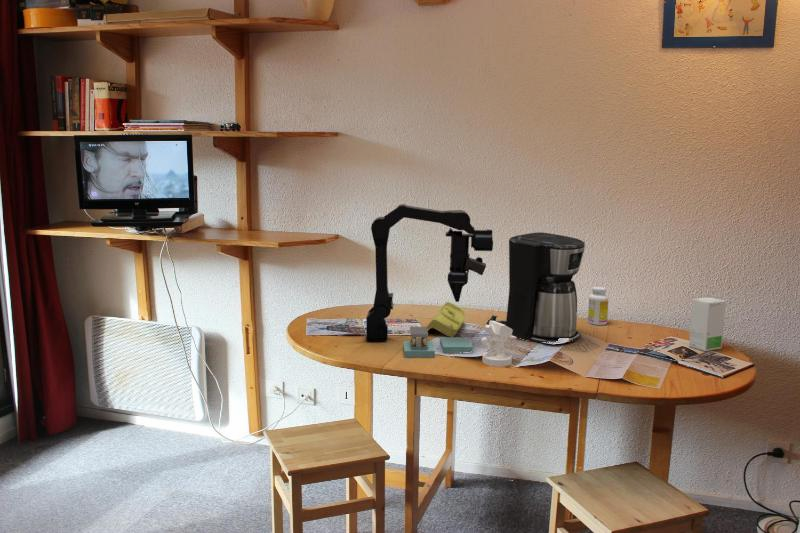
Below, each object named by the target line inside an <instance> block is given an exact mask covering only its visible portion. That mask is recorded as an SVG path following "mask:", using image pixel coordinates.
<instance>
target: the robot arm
mask: <svg viewBox="0 0 800 533" xmlns="http://www.w3.org/2000/svg"><path fill="white" fill-rule="evenodd" d="M404 218H406V219H412V220H419V221H423V222H431V223H436V224H441V225H445V226H447V227H449V229H448V231H446V232H445V237H450V254H449V258H450V259H449V272H447V283H448V286H449V287H450V290H451V294H452V296H453V299H454V301H455V302H456V303H458V302H460V298H461V296H462V295H461V294H462V290H463V287H464V286H465V285H467V284H468V283H469V281H468V280H469V275H470V274H469V273H470V271H471V272H474V273H476V274H477V275H480V276H483V274H484V272H485V269H486V267H487V264H486V263H485V262H483V258H482V257H479V256H477V258H472V257H470V253H469V252H470V251H469V249H471V248H472V249H473V250H474V251H475V252H493V248H494V241H493V237H494V236H493V230H492V229H475V228H476V227H475V226H473V225H472V223H471V218H470V215H469V214H468V213H467V212H466V211H465V210H461V209H456V210H455V209H452V210H451V209H449V210H440V209H439V210H438V209H433V208H425V207H419V206H413V205H407V204H405V203H401V204H399V205H397V206H396V208H394V209H393V210H391V211H390V212H388V213H387V214H385V215H383V216H378V217H376V218H375V219H374V220H373V222H372V223H371V226H370V230H371V235H372V240H373V244H374V247H375V253H374V254H375V289H376V290H375V295H374V299H373V300H374V301H373V305H372V307H371V308H370V309H369V310H368V312H367V315H366V318H365V319H366V324H365V325H366V326H365V327H366V334H365V337H366V338H365V341H366V343H369V342H374V343H377V342H383V343H384V342H387V339H388V338H389V336H388V335H389V334H388V332H389V331H388V330H389V326H388V323H387V322H386V321H387V320H386V318H388V317H389V316H390V314H391V312H392V310H393V309H394V302H393V298H394V293H393V292H391V293H390V291H389V287H388V285H389V284H388V280H389V278H388V277H389V276H388V274H389V273H388V242H389V237H390V230H391V228H392V227H394V226H395V225H396V224H398V223H399V222H400V221H401V220H403V219H404ZM453 229H455V230H453ZM463 231H465V232H466V233H463ZM469 247H470V248H469Z"/></svg>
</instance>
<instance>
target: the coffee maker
mask: <svg viewBox="0 0 800 533" xmlns="http://www.w3.org/2000/svg"><path fill="white" fill-rule="evenodd" d="M585 245H586V244H585V241H583V240H581V239H579V238H574V237H571V236H567V235H563V234H561V235H560V234H555V233H549V232H540V231H539V232H538V231H537V232H531V233H529V232H528V233H524V234H519V235H513V236H512V237H509V240H508V270H509V271H508V274H509V275H508V276H509V277H508V280H509V281H508V285H509V287H508V288H509V289H508V299H507V300H508V301H507V309H506V310H507V311H506V320H497V318H498V315H493V314H492V316H491V317H490V319H488V320H487V321H486V325H489V321H496V322H498V323H501V324H504V325H505V326H507V327H509V328H511V329H512V330H513V331H512V336H515V337H517V338H516V339H518V338H521V339H520V340H522V339H524V340H523V341H525V340H533V341H532V342H534V341H537V342H536V343H539V342H546V343H547V342H548V343H549V342H556V341H558V339H559V338H569V341H572V340H574V341H575V339H576V340H577V339H579V338H580V336H581V335H582V334H581V332H580V331H577V324H578V323H577V321H578V320H577V319H578V318H577V317H578V316H577V315H578V314H577V313H578V296H577V289H576V284H575V281H574V280H572V279H573V277H574V276H576V274H578V273H579V270H580V266H581V263H582V260H583V256H584V252H585ZM572 342H573V341H572Z"/></svg>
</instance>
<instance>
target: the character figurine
mask: <svg viewBox="0 0 800 533" xmlns="http://www.w3.org/2000/svg"><path fill="white" fill-rule="evenodd" d="M496 321H497V320H496ZM496 321H489V325H487V324H486V325H485V326H484V327H483V328H482V329H481V331H484V332H483V333H484V334H490V336H489V338H488V337H486V336H484V337H482V338H481V343H482V344H483V347H484V348H485V349H486V350H487V351H485V352H483V353H482V363H483V364H485V365H487V366H490V367H495V368H496V367H498V368H502V367H503V368H504V367H508V366H511V365H512V362H513V355H512V354H511V353H509V352H507V351H506V346H505V344H504V343H505V342H508V340H509V338H510V339H517V338H516V337H515V336H512V331H513V330H512V329H511V328H509V327H507V326H505V325H504V324H501V323H498V322H496ZM488 350H489V351H488Z"/></svg>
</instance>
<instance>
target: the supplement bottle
mask: <svg viewBox="0 0 800 533" xmlns="http://www.w3.org/2000/svg"><path fill="white" fill-rule="evenodd" d="M606 292H607V288H606V287H603V286H593V287H592V293H591V294H590V295H589V296H588V309H587V310H588V312H587V321H588V323H589V325H593V326H604V325H607V323H608V314H609V313H608V312H609V297H608V295H607V294H606Z"/></svg>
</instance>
